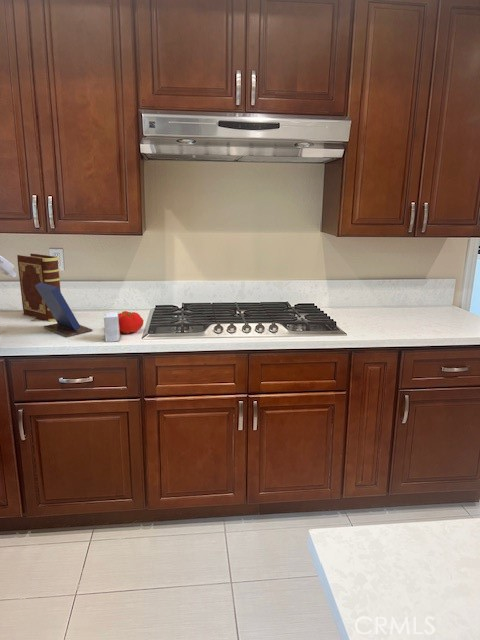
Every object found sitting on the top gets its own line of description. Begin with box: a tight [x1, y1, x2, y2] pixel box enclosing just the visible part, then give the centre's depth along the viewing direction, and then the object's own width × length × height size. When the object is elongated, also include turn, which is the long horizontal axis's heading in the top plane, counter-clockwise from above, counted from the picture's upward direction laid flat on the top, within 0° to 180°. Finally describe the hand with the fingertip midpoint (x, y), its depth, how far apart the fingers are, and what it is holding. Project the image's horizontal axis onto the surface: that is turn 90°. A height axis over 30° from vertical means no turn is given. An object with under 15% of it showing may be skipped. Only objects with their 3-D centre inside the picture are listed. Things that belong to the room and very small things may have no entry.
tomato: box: [118, 310, 144, 334], centre depth 204 cm, size 13×12×8 cm
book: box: [35, 282, 82, 331], centre depth 201 cm, size 3×15×21 cm, turn 50°
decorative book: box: [16, 253, 62, 323], centre depth 223 cm, size 22×8×30 cm, turn 58°
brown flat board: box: [43, 322, 93, 338], centre depth 206 cm, size 12×20×1 cm, turn 48°
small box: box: [103, 312, 121, 343], centre depth 193 cm, size 8×6×10 cm
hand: (11, 274), depth 184 cm, fingers open, 5 cm apart
